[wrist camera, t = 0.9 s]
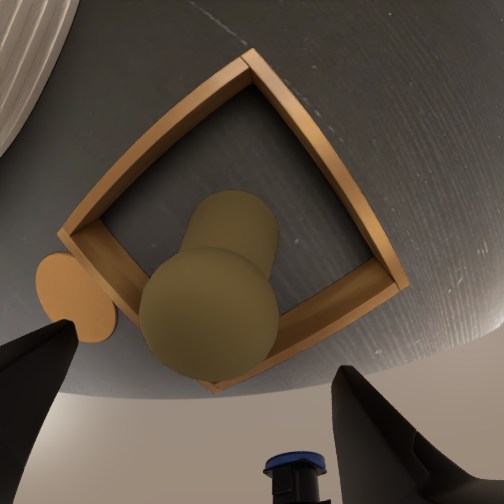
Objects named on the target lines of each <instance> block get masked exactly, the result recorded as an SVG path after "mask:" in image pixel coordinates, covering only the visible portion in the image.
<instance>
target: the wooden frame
mask: <svg viewBox="0 0 504 504" xmlns="http://www.w3.org/2000/svg"><path fill="white" fill-rule="evenodd" d="M252 81H253V83H254V84H255V85H256V86H257V87H258V89H259V90H260V91H261V92H262V93H263V95H264V96H265V97H266V98H267V99H268V101H269V102H270V103H271V104H272V106H273V107H274V108H275V109H276V111H277V112H278V113H279V114H280V116H281V117H282V118H283V120H284V121H285V122H286V123H287V125H288V126H289V127H290V129H291V130H292V131H293V133H294V134H295V135H296V137H297V138H298V139H299V141H300V142H301V143H302V145H303V146H304V147H305V149H306V150H307V152H308V153H309V154H310V156H311V157H312V159H313V160H314V161H315V163H316V164H317V166H318V167H319V169H320V170H321V171H322V173H323V174H324V176H325V177H326V179H327V180H328V182H329V183H330V185H331V186H332V188H333V189H334V191H335V192H336V194H337V195H338V197H339V198H340V200H341V201H342V203H343V205H344V206H345V208H346V209H347V211H348V212H349V214H350V216H351V217H352V219H353V220H354V222H355V224H356V225H357V227H358V229H359V230H360V232H361V234H362V235H363V237H364V239H365V240H366V242H367V244H368V245H369V247H370V249H371V251H372V252H373V254H374V256H375V257H373V258H371V259H370V260H368V261H367V262H365V263H364V264H362V265H361V266H359V267H358V268H356V269H355V270H353V271H352V272H350V273H349V274H347V275H346V276H344V277H343V278H341V279H340V280H338V281H337V282H335V283H334V284H332V285H331V286H329V287H327V288H326V289H324V290H323V291H321V292H320V293H318V294H316V295H315V296H313V297H312V298H310V299H308V300H307V301H305V302H303V303H302V304H300V305H299V306H297V307H295V308H294V309H292V310H290V311H289V312H287V313H285V314H284V315H282V316H280V317H279V324H278V331H277V337H276V339H275V342H274V344H273V346H272V348H271V350H270V351H269V353H268V355H267V357H266V358H265V359H264V360H263V361H262V362H261V363H259V364H258V365H257V366H256V367H255V368H253V369H252V370H251V371H250V372H248V373H247V374H245V375H243V376H240V377H238V378H235V379H233V380H227V381H219V382H209V381H200V380H196V381H198V382H199V383H200V384H201V385H203V386H204V387H205V388H206V389H207V390H209V391H210V392H211V393H212V394H215V393H217V392H219V391H221V390H224V389H226V388H228V387H231V386H233V385H235V384H237V383H240V382H242V381H244V380H246V379H248V378H250V377H252V376H254V375H257V374H259V373H261V372H263V371H265V370H267V369H269V368H271V367H273V366H275V365H277V364H279V363H281V362H283V361H285V360H287V359H288V358H290V357H292V356H294V355H296V354H298V353H300V352H302V351H303V350H305V349H307V348H309V347H311V346H313V345H314V344H316V343H318V342H320V341H321V340H323V339H325V338H327V337H328V336H330V335H332V334H334V333H335V332H337V331H339V330H340V329H342V328H344V327H345V326H347V325H349V324H350V323H352V322H354V321H355V320H357V319H358V318H360V317H362V316H363V315H365V314H366V313H368V312H370V311H371V310H373V309H374V308H376V307H377V306H379V305H380V304H382V303H383V302H385V301H386V300H388V299H389V298H391V297H392V296H394V295H395V294H397V293H398V292H399V290H400V291H401V290H402V289H404V288H405V287H407V286H408V285H409V284H410V282H409V280H408V278H407V275H406V273H405V271H404V269H403V267H402V265H401V263H400V261H399V259H398V257H397V255H396V253H395V251H394V249H393V247H392V245H391V244H390V242H389V240H388V238H387V236H386V234H385V232H384V231H383V229H382V227H381V225H380V223H379V221H378V220H377V218H376V216H375V214H374V213H373V211H372V209H371V207H370V206H369V204H368V202H367V201H366V199H365V197H364V196H363V194H362V192H361V191H360V189H359V187H358V186H357V184H356V183H355V181H354V179H353V178H352V176H351V175H350V173H349V172H348V170H347V168H346V167H345V165H344V164H343V162H342V161H341V159H340V158H339V156H338V155H337V153H336V152H335V150H334V149H333V147H332V146H331V145H330V143H329V142H328V140H327V139H326V137H325V136H324V135H323V133H322V132H321V130H320V129H319V128H318V126H317V125H316V123H315V122H314V121H313V119H312V118H311V117H310V115H309V114H308V113H307V111H306V110H305V109H304V107H303V106H302V105H301V104H300V102H299V101H298V100H297V98H296V97H295V96H294V95H293V93H292V92H291V91H290V90H289V88H288V87H287V86H286V85H285V84H284V82H283V81H282V80H281V79H280V78H279V76H278V75H277V74H276V73H275V72H274V70H273V69H272V68H271V67H270V66H269V65H268V63H267V62H266V61H265V60H264V59H263V58H262V57H261V56H260V54H259V53H258V52H257V51H256V50H255V49H254V48H252V49H250V50H249V51H247V52H246V53H244V54H243V55H241V57H238V58H237V59H235V60H234V61H232V62H231V63H229V64H228V65H227V66H225V67H224V68H222V69H221V70H220V71H218V72H217V73H216V74H214V75H213V76H212V77H210V78H209V79H208V80H206V81H205V82H204V83H203V84H201V85H200V86H199V87H197V88H196V89H195V90H194V91H192V92H191V93H190V94H189V95H188V96H186V97H185V98H184V99H183V100H182V101H180V102H179V103H178V104H177V105H176V106H174V107H173V108H172V109H171V110H170V111H169V112H168V113H166V114H165V115H164V116H163V117H162V118H161V119H160V120H159V121H158V122H156V123H155V124H154V125H153V126H152V127H151V128H150V129H149V130H148V131H147V132H146V133H145V134H144V135H143V136H142V137H141V138H140V139H139V140H137V141H136V142H135V143H134V144H133V145H132V146H131V147H130V148H129V149H128V150H127V152H126V153H125V154H124V155H123V156H122V157H121V158H120V159H119V160H118V161H117V162H116V163H115V164H114V165H113V166H112V167H111V168H110V169H109V171H108V172H107V173H106V174H105V175H104V176H103V177H102V178H101V179H100V181H99V182H98V183H97V184H96V185H95V186H94V187H93V189H92V190H91V191H90V192H89V193H88V195H87V196H86V197H85V198H84V199H83V201H82V202H81V203H80V204H79V205H78V207H77V208H76V209H75V210H74V212H73V213H72V214H71V216H70V217H69V218H68V219H67V221H66V222H65V223H64V225H63V226H62V228H61V229H60V230H59V232H58V233H57V236H58V237H59V238H60V239H61V241H62V242H63V243H64V245H65V246H66V247H67V248H68V250H69V251H70V252H71V254H72V255H73V256H74V257H75V258H76V260H77V261H78V262H79V263H80V265H81V266H82V267H83V268H84V269H85V271H86V272H87V273H88V274H89V275H90V276H91V278H92V279H93V280H94V281H95V282H96V283H97V284H98V286H99V287H100V288H101V289H102V290H103V291H104V292H105V293H106V294H107V296H108V297H109V298H110V299H111V300H112V301H113V302H114V303H115V304H116V305H117V306H118V307H119V308H120V310H121V311H122V312H123V313H124V314H125V315H126V316H127V317H128V318H129V319H130V320H131V321H132V322H133V323H134V324H135V325H136V326H137V327H138V328H139V329H140V330H141V325H140V320H139V314H138V313H139V308H140V303H141V298H142V293H143V289H144V287H145V285H146V284H147V282H148V281H149V279H150V278H149V277H148V276H147V275H146V274H145V272H144V271H143V270H142V269H141V268H140V267H139V266H138V265H137V263H136V262H135V261H134V260H133V259H132V258H131V257H130V255H129V254H128V253H127V252H126V251H125V250H124V248H123V247H122V246H121V245H120V244H119V242H118V241H117V240H116V239H115V238H114V236H113V235H112V234H111V233H110V232H109V230H108V229H107V228H106V227H105V225H104V224H103V223H102V222H101V220H100V219H99V217H100V216H101V215H102V214H103V213H104V212H105V211H106V210H107V209H108V208H109V207H110V205H111V204H112V203H113V202H114V201H115V200H116V199H117V198H118V197H119V196H120V195H121V194H122V193H123V192H124V191H125V190H126V189H127V188H128V187H129V186H130V185H131V184H132V183H133V182H134V181H135V180H136V179H137V178H138V177H139V176H140V175H141V174H142V173H143V172H144V171H145V170H146V169H147V168H148V167H149V166H150V165H151V164H153V163H154V162H155V161H156V160H157V159H158V158H159V157H160V156H161V155H162V154H163V153H164V152H166V151H167V150H168V149H169V148H170V147H171V146H172V145H173V144H175V143H176V142H177V141H178V140H179V139H180V138H182V137H183V136H184V135H185V134H186V133H187V132H189V131H190V130H191V129H192V128H193V127H195V126H196V125H197V124H198V123H199V122H201V121H202V120H203V119H204V118H206V117H207V116H208V115H209V114H211V113H212V112H213V111H215V110H216V109H217V108H218V107H220V106H221V105H222V104H224V103H225V102H226V101H228V100H229V99H230V98H232V97H233V96H234V95H236V94H237V93H238V92H240V91H241V90H243V89H244V88H245V87H247V86H248V85H250V84H251V83H252Z"/></svg>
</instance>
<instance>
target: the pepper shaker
mask: <svg viewBox="0 0 504 504" xmlns="http://www.w3.org/2000/svg"><path fill="white" fill-rule="evenodd" d="M278 240H279V228H278V224H277V220H276V217H275V215H274V214H273V212H272V211H271V209H270V208H269V206H268V205H267V204H266V203H264V202H263V201H262V200H261V199H260V198H258V197H257V196H255V195H253V194H250V193H247V192H245V191H242V190H224V191H220V192H217V193H213V194H211V195H210V196H208V197H207V198H205V199H204V200H203V201H201V202H200V203H199V205H198V206H197V207H196V209H195V210H194V211H193V213H192V215H191V218H190V221H189V223H188V226H187V229H186V232H185V235H184V237H183V240H182V243H181V246H180V249H179V252H178V254H176V255H174V256H173V257H171V258H170V259H168V260H167V261H165V262H164V263H162V264H161V265H160V266H159V267H158V268H157V269H156V271H155V272H154V273H153V275H152V276H151V278H150V279H149V281H148V282H147V284H146V285H145V287H144V289H143V293H142V298H141V303H140V308H139V313H138V314H139V320H140V325H141V331H142V334H143V337H144V339H145V341H146V343H147V345H148V347H149V348H150V350H151V352H152V353H153V354H154V355H155V356H156V357H157V358H158V359H159V360H160V361H161V362H162V363H163V364H164V365H165V366H167V367H168V368H170V369H172V370H173V371H175V372H176V373H178V374H180V375H183V376H186V377H189V378H192V379H195V380H200V381H209V382H219V381H227V380H233V379H235V378H238V377H240V376H243V375H245V374H247V373H248V372H250V371H251V370H252V369H253V368H255V367H256V366H257V365H258V364H259V363H261V362H262V361H263V360H264V359H265V358H266V357H267V355H268V353H269V351H270V350H271V348H272V346H273V344H274V342H275V339H276V337H277V331H278V324H279V309H278V305H277V301H276V297H275V293H274V290H273V288H272V287H271V285H270V283H269V279H270V275H271V271H272V267H273V263H274V259H275V255H276V251H277V247H278Z"/></svg>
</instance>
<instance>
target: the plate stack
mask: <svg viewBox="0 0 504 504" xmlns="http://www.w3.org/2000/svg"><path fill="white" fill-rule="evenodd" d="M78 4H79V0H0V157H1V156H2V155H3V153H4V152H5V151H6V150H7V149H8V147H9V146H10V145H11V143H12V142H13V140H14V139H15V137H16V136H17V134H18V133H19V131H20V130H21V128H22V127H23V125H24V123H25V122H26V120H27V118H28V117H29V115H30V113H31V111H32V109H33V108H34V106H35V104H36V102H37V100H38V98H39V96H40V94H41V92H42V90H43V88H44V86H45V84H46V82H47V80H48V78H49V76H50V74H51V72H52V70H53V68H54V65H55V63H56V61H57V59H58V57H59V54H60V52H61V50H62V47H63V45H64V42H65V40H66V37H67V35H68V32H69V30H70V27H71V24H72V22H73V19H74V16H75V13H76V10H77V7H78Z"/></svg>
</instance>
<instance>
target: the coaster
mask: <svg viewBox="0 0 504 504" xmlns="http://www.w3.org/2000/svg"><path fill="white" fill-rule="evenodd" d="M36 289H37V294H38V297H39V300H40V302H41V304H42V306H43V308H44V310H45V312H46V313H47V315H48V316H49V318H50V319H51V320H52V321H53V323H54V322H56V321H59V320H61V319H68V320H71V321H73V322H74V324H75V327H76V331H77V335H78V339H79V340H80V341H83V342H88V343H97V342H101V341H103V340H105V339H107V338H108V337H109V336H110V335H111V333H112V332H113V330H114V328H115V326H116V322H117V309H116V304H115V303H114V302H113V301H112V300H111V299H110V298H109V297H108V296H107V294H106V293H105V292H104V291H103V290H102V289H101V288H100V287H99V286H98V284H97V283H96V282H95V281H94V280H93V279H92V278H91V276H90V275H89V274H88V273H87V272H86V271H85V269H84V268H83V267H82V266H81V265H80V263H79V262H78V261H77V260H76V258H75V257H74V256H73V255H72V254H69V253H63V252H59V253H54V254H51V255H49V256H47V257H46V258H45V259H44V260H43V261H42V262H41V263H40V265H39V267H38V269H37V273H36Z"/></svg>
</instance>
